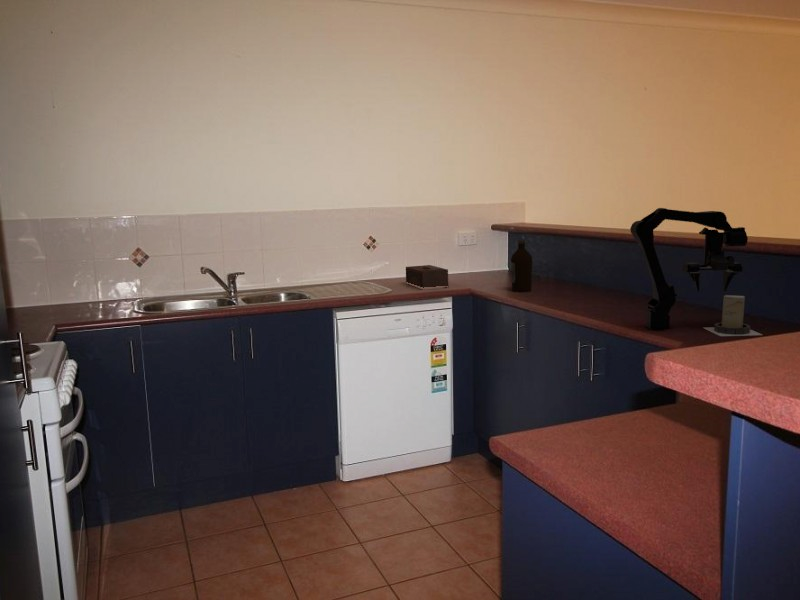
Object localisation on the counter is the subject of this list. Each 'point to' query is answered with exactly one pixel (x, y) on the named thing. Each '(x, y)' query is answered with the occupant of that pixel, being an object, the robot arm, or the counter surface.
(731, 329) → the dark grey ring
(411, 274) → the tissue box cover
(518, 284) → the olive oil
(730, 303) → the skincare box
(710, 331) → the grey base plate
